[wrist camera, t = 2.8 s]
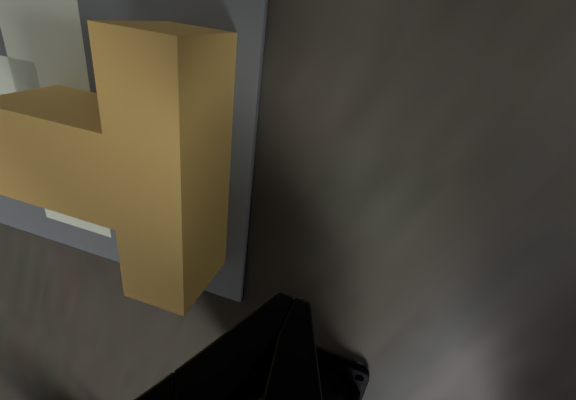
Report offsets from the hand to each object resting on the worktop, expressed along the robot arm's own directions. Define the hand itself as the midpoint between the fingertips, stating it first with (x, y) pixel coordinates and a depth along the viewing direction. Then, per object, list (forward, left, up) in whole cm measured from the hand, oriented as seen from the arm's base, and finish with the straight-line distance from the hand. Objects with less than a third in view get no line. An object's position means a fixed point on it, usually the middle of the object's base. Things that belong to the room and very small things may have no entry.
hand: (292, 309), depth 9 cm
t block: (+10, 0, -7) cm, 12 cm away
